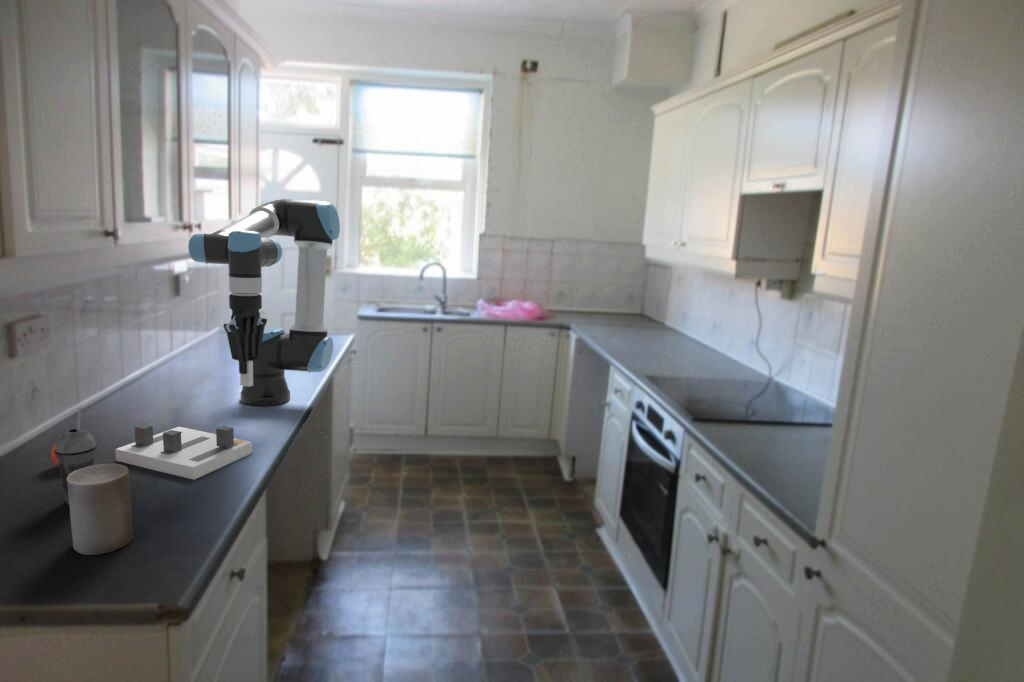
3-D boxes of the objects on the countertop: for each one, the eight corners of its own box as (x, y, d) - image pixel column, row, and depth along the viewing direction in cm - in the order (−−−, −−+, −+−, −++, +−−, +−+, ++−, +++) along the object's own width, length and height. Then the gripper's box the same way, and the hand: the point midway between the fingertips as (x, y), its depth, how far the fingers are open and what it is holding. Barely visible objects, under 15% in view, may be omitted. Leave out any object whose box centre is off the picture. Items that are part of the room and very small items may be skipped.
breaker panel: (179, 437, 176) (178, 410, 174) (252, 453, 168) (251, 424, 166) (116, 460, 158) (114, 430, 156) (194, 479, 150) (192, 448, 149)
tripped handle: (224, 442, 164) (223, 425, 163) (233, 444, 163) (233, 427, 162) (216, 445, 162) (216, 428, 161) (226, 448, 161) (225, 430, 160)
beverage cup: (52, 500, 136) (45, 408, 132) (92, 490, 142) (85, 401, 138) (66, 511, 132) (59, 417, 128) (105, 500, 138) (100, 409, 134)
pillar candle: (142, 529, 127) (137, 456, 124) (120, 555, 118) (114, 476, 115) (87, 530, 126) (81, 456, 123) (61, 556, 116) (54, 477, 113)
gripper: (251, 289, 170) (252, 377, 174) (213, 294, 158) (215, 388, 162) (275, 292, 168) (276, 381, 172) (238, 297, 155) (240, 393, 160)
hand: (246, 385), depth 167 cm, fingers closed
